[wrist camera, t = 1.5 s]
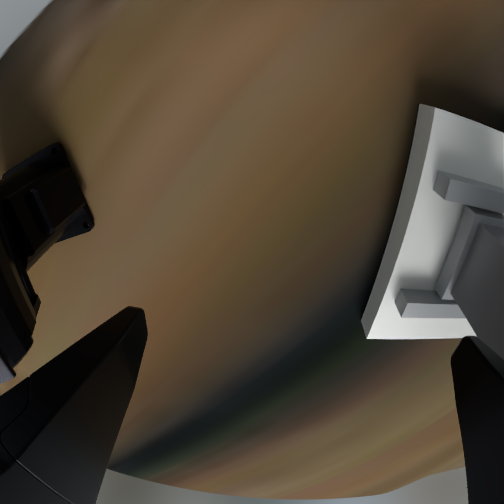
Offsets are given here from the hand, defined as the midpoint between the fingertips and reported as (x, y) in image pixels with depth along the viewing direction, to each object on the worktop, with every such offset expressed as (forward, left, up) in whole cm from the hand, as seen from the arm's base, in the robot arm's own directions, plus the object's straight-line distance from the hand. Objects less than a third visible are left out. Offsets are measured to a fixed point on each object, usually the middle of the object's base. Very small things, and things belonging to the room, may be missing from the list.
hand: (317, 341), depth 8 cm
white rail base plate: (+14, -7, -12) cm, 20 cm away
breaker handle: (+11, -6, -10) cm, 16 cm away
